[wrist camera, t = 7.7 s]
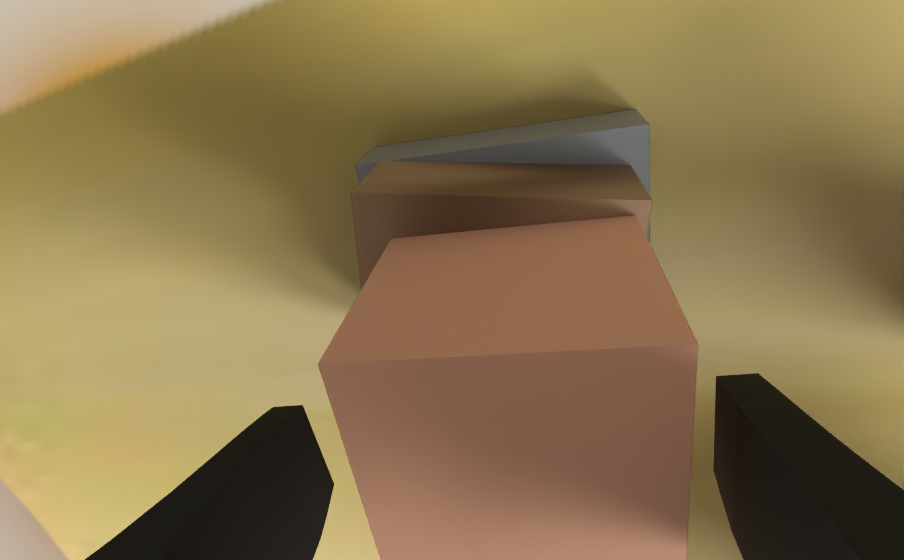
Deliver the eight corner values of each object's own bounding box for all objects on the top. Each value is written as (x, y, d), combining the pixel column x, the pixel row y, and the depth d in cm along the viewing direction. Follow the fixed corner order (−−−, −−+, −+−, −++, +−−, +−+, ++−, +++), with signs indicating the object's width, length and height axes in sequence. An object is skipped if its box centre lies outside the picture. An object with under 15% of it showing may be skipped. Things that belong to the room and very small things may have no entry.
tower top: (630, 165, 13) (652, 200, 10) (602, 372, 15) (614, 434, 13) (380, 160, 13) (351, 192, 11) (396, 359, 16) (374, 416, 14)
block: (636, 214, 11) (697, 343, 7) (636, 413, 13) (684, 599, 9) (391, 238, 12) (317, 363, 8) (431, 419, 14) (390, 590, 10)
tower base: (630, 104, 14) (649, 124, 12) (635, 326, 17) (651, 374, 15) (379, 141, 16) (355, 165, 14) (425, 341, 19) (411, 387, 17)
